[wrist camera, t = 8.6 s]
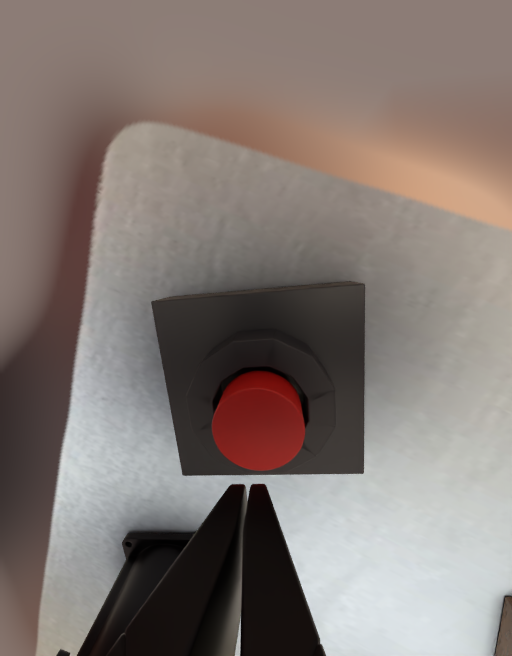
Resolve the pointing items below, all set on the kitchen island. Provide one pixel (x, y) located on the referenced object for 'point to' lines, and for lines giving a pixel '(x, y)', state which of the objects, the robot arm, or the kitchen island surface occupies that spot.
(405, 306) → the kitchen island surface
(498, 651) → the dial panel
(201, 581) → the robot arm
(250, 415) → the button
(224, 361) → the switch block
